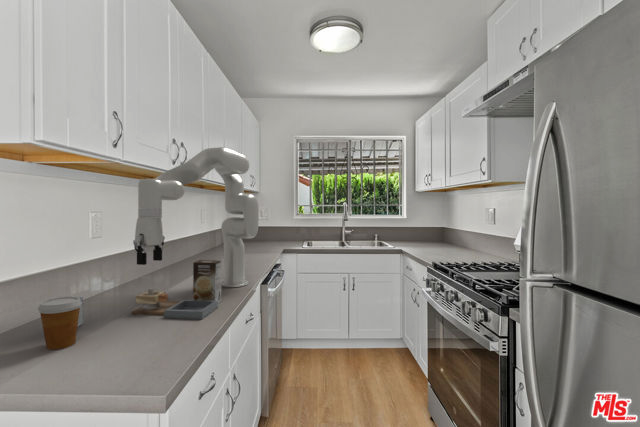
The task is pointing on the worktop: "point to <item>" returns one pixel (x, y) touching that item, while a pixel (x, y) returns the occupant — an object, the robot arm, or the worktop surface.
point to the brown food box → (207, 280)
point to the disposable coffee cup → (60, 321)
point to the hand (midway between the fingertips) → (149, 262)
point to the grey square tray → (191, 309)
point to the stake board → (157, 311)
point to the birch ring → (151, 297)
